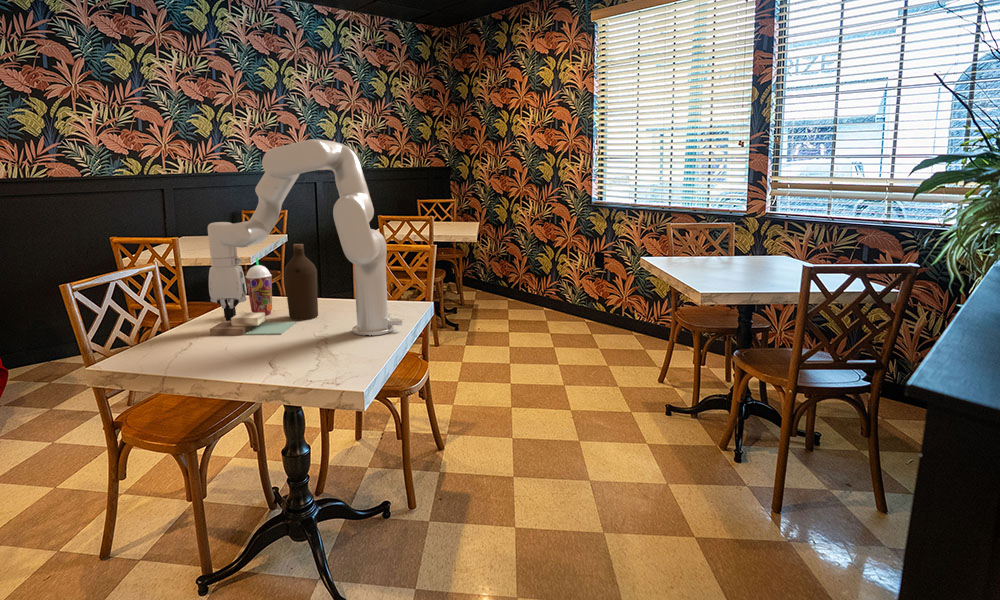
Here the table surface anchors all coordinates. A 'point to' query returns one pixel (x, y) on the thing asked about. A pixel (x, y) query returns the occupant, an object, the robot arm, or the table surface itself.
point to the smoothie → (259, 288)
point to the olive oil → (301, 286)
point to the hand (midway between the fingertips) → (230, 319)
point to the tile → (248, 319)
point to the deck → (229, 329)
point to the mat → (270, 328)
